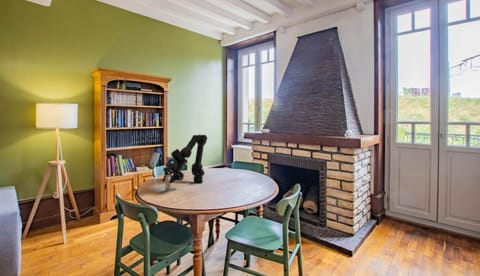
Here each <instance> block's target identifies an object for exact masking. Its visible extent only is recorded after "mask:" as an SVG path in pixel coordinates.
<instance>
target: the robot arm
mask: <svg viewBox="0 0 480 276" xmlns="http://www.w3.org/2000/svg"><path fill="white" fill-rule="evenodd" d="M207 140H208V137H207V135H206V134H193V135H192V137H191V139H190V140H189V141H188V143H187V145H186V146H185V147H182V149H181V150H180V149H177V148H176V149H175V150H173V151H172V152H171V155H170V157H173V158H174V159H175V160H176V163H174V162H171V163H169V162H168V161H166V163H165V165H164V168H163V169H162V170H163V172H164V175H163V177H162V182H165V175H171V174H172V175H173V177H172V178H171V180H170V182H169V183H171V184H172V183H174V182H176V181H179V180H178V179H180V178H183V179H184V177H185V174H184V173H183V172H182V171H181V170H183V167H184V165H185V164H188V158H190V157H191V155H192V150H193V149H194V147H195V146H196V145H197V148H196V154H195V160H194V162H193V163H192V165H191V168H190V169H191V170H190V171H191V174H192V176H193V184H202V183H203V182H204V180H203V179H204V177H203V176H205V171H204V169H203V164H202V159H203V153H204V147H205V145H206V144H207ZM167 167H170V168H167ZM170 169H171V170H170Z"/></svg>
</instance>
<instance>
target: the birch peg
mask: <svg viewBox="0 0 480 276" xmlns="http://www.w3.org/2000/svg"><path fill="white" fill-rule="evenodd" d="M164 175H165V174H164ZM170 180H171V175H165V181H164V182H165V184H164V185H165V189H166V191H171V187H172V185H171V184H172V183H169V182H170Z"/></svg>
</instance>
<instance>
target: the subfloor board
mask: <svg viewBox="0 0 480 276" xmlns="http://www.w3.org/2000/svg"><path fill="white" fill-rule="evenodd" d="M173 188H175V189H177V190H173V191H170V192H166V193H161V194H162V195H165V194H168V193H169V194H170V193H173V192H177V191H180V190H181V188H180V189H179V188H176V187H173V186H171V189H173ZM147 189H148V190H151V191H154V192H157V193H159V192H161V191H165V190H166V189H165V184H162V185H161V184H160V185H158V186H152V187H149V188H147Z"/></svg>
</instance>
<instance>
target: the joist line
mask: <svg viewBox="0 0 480 276" xmlns="http://www.w3.org/2000/svg"><path fill="white" fill-rule="evenodd" d="M175 188H176V187H174V188H173V189H171V191H173V190H177V189H178V188H177V189H175ZM177 191H178V190H177ZM166 192H169V193H171V192H170V191H166V190H165V191H161V192H158V193H160V194H162V193H165V194H167V193H166ZM173 192H174V191H173Z"/></svg>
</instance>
